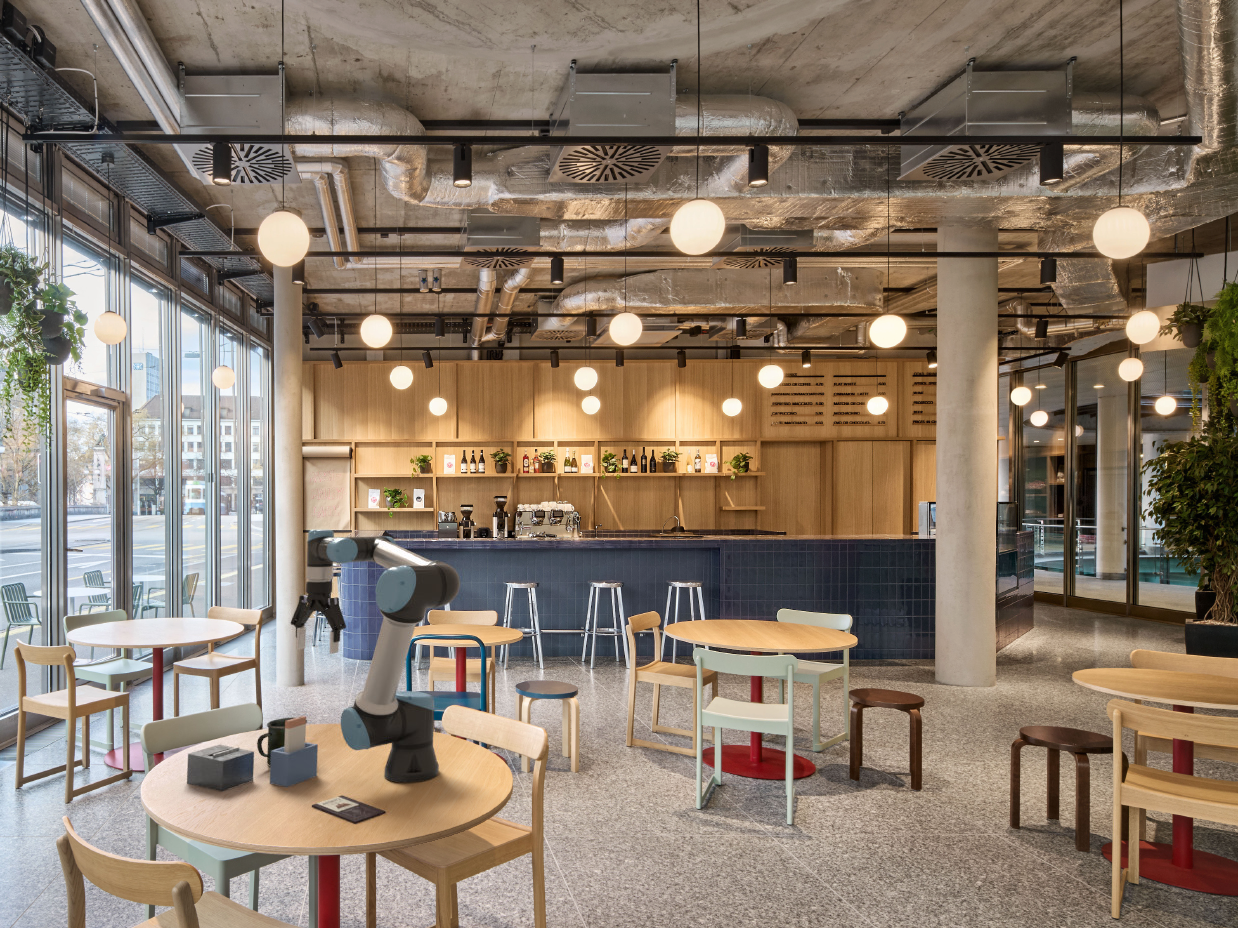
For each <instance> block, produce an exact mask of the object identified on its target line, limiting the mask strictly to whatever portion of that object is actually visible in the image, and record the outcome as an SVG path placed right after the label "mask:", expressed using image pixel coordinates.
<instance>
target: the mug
mask: <svg viewBox="0 0 1238 928" xmlns="http://www.w3.org/2000/svg"><path fill="white" fill-rule="evenodd" d="M293 718H294V717H284V718H277V719H273V720H270V721H269V722H268V723H267V724H266V727H267V730H268V731H267V732H266V733H263V734H260V736H259V737H258V738H257V741H256V746H257V748H256V749H257V751H258V753H259V755H260V756H262V757H263V758H266V759H267V760H266V761H267V762H266V763H267V765H268V766H269V767H270V761H271V751H272V750H275V749H278V748H281V747H284V746H285V721H286V720H290V719H293ZM307 723H308V721H307V719H306V724H307ZM266 738H267V751H266V752H267V753H265V752H264V749H263V745H262V744H263V741H264V739H266Z"/></svg>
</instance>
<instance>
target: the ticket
mask: <svg viewBox="0 0 1238 928" xmlns="http://www.w3.org/2000/svg"><path fill="white" fill-rule="evenodd" d="M292 718H293V719H290V720H286V721H285V746H284V752H285V753H290V752H293V751H296V750H299V749H302V748H305V742H306V734H307V733H306V728H307V727H306V726H307V723H306V720H307V716H305V715H301V716H297V717H292Z"/></svg>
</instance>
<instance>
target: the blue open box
mask: <svg viewBox="0 0 1238 928" xmlns="http://www.w3.org/2000/svg"><path fill="white" fill-rule="evenodd" d="M318 747H319V746H318V744H317V743H311V742H306V741H305V748H302V749H299V750H296V751H293V752H290V753H285V752H284V747H281V748H278V749H275V750H272V751H271V761H270V766H269V769H270V770H269V784H271V785H276V786H280V787H286V788H289V787H291V786H294V785H296V784H299V783H301V782H304V781H307V780H310V779H312V778H313V779H314V777H317V775H318V753H319V752H318V751H319V749H318Z"/></svg>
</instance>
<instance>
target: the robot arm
mask: <svg viewBox="0 0 1238 928" xmlns="http://www.w3.org/2000/svg"><path fill="white" fill-rule="evenodd" d="M334 532H335V531H334V530H332V529H311V530H309V531H308V532H307V541H306V545H307V547H306V572H305V573H306V576H305V578H306V580H307V581H306V582H305V593H306V594H303V595H302V594H301V595H299V598H298V603H297V607H296V608H295V611H294V613H293V616H292V618H291V620H290V625H291V626H294V627H295V638H296V650H297V651H300V650H304V649H306V635H307V633H306V632H307V631H306V630H307V629H306V626H305V624H307V621H308V620H309V619H310V618H311V616H312V615H313V613H314V612H318V613H321V614H323V616H324V617H325V619H326V621H327V623H328V624H329V626H330V628H331V631H330V632H329V633H330V634H329V635H330V636H329V654H331V655H332V654H338V653H339V642H340V640H341V631H342V630H345V629H346V628H347V625H346V622H345V619H344V616H343V612H342V610H341V606H340V602H339V600H340V599H339V597H335V596H334V597H331V594H332V593H333V581H332V580H333V572H334V571H333V570H334V566H333V565H334V563H336V564H340V565H341V564H348V563H356V562H357V563H360V562H361V563H363V562H372V563H375V564H377V565H379V566H381V567H383V568H385V569H386V570H384V571H383V573H382V574H381V575H380V577H379V578H378V580H377V584H376V587H375V593H374V594H375V595H376V597H375V602H376V605H377V607H378V608H379V612H380V614H381V615H382V617H383V619H382V622H381V626H380V628H379V629H380V630H379V634H378V638H377V641H376V643H375V644H376V645H375V648H374V651H373V656H372V660H371V663H370V666H369V670H368V674H367V677H366V681H365V685H364V688H363V691H360V692H359V693H357V695H356V696H355V698H354V702H353V706H348V707H346V708H345V709H344V710H343V711H341V712H342V713H341V715H340V729H341V733H342V736H343V737H342V738H343V739H344V741H345V743H346V744H347V746H348V747H349V749H352V750H354V751H362V750H369V749H373V748H377V747H381V746H384V745H388V744H391V748H390V751H389V754H388V757H387V759H386V764H385V767H384V771H383V772H384V778H385V779H386V780H388V781H390V782H394V783H419V782H423V781H429V780H432V779H433V778H435V777H437V776H438V774H439V773H440V772H439V769H440V767H439V762H438V761H437V755H436V752H435V748H434V723H435V722H434V721H435V720H434V719H435V717H434V716H435V714H434V713H435V700H434V697H433V696H432V695H431V694H428V693H426V692H421V691H411V690H410V691H409V690H403V691H398V688H399V684H400V680H401V677H402V674H403V670H404V668H405V667H404V666H405V663H406V659H407V656H408V653H409V651H410V650H409V649H410V645H411V642H412V640H413V639H412V638H413V635H414V632H415V629H416V625H418V624H419V623H422V622H423V620H424V618H425V615H426V611H427V609H433V608H434V609H435V608H441V607H443V606H447V605H448V604H450V603H451V602H452V601H454V599H455V598H456V596H458V594H459V590H460V587H461V580H460V576H459V574H458V572H457V570H456V569H455V568H454V567H453V566H451V565H449V564H447V563H446V562H443V561H441V560H437V559H436V560H431V559H429V558H425V557H423V556H421V555H420V554H417V553H415V552H412V551H411V550H408V549H406V548H404V547H402V546H399V545H398V544H397V542H396V541H395V538H393V537H391V536H384V535H379V536H377V535H376V536H347V537H346V536H345V537H343V536H335V533H334Z"/></svg>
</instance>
